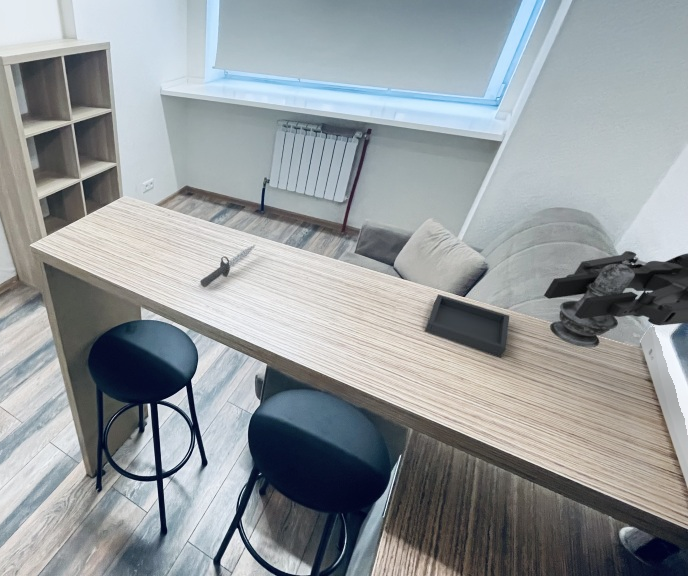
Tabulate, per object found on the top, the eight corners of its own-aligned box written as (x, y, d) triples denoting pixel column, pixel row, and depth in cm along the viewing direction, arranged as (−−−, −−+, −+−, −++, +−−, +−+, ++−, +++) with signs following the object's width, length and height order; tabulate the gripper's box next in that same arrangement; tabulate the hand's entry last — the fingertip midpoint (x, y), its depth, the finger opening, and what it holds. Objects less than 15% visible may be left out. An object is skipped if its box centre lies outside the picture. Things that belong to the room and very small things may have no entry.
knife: (250, 251, 97) (252, 233, 94) (259, 254, 96) (260, 236, 93) (198, 289, 87) (198, 270, 84) (207, 294, 85) (207, 275, 82)
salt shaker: (612, 352, 53) (675, 275, 46) (560, 345, 54) (614, 270, 48) (586, 323, 58) (640, 250, 51) (539, 318, 59) (585, 246, 52)
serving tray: (504, 324, 75) (509, 315, 74) (500, 357, 68) (506, 348, 67) (434, 302, 81) (438, 294, 80) (424, 331, 74) (428, 322, 73)
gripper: (778, 339, 50) (617, 366, 47) (632, 268, 63) (500, 285, 60) (833, 290, 46) (661, 316, 43) (664, 225, 59) (524, 241, 56)
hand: (567, 298), depth 51 cm, fingers closed on salt shaker, 3 cm apart
